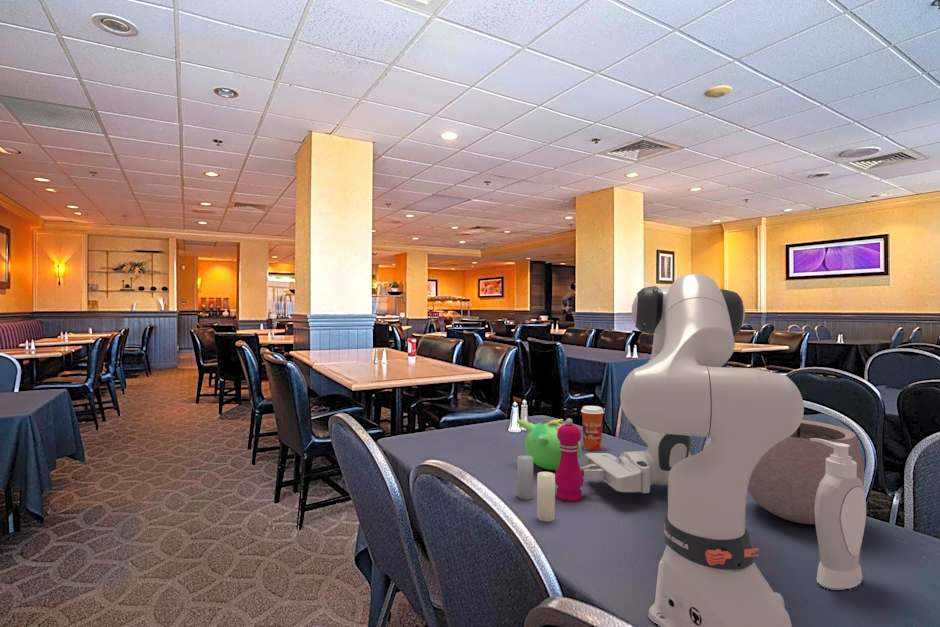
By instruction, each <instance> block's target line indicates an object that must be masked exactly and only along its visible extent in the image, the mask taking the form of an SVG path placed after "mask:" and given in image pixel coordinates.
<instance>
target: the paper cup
mask: <svg viewBox="0 0 940 627" xmlns="http://www.w3.org/2000/svg"><path fill="white" fill-rule="evenodd" d="M580 412H581V422H582V423H581V426H582V441H583V449H584V448H585V449H584V450H586V449H588V450H587V451H589V450H599V449H600V450H601V447H602V437H603V436H602V434H603V423H604V422H603V420H604V419H603V417H604V414H605V411H604V409H603V407H601V406H596V405H584V406H582V408H581V410H580ZM600 450H599V451H600Z"/></svg>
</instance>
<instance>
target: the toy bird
mask: <svg viewBox="0 0 940 627" xmlns="http://www.w3.org/2000/svg"><path fill="white" fill-rule="evenodd" d="M563 421H564V419H563V418H560V419H559V418H557V419H553V420H545V421H541V422H537V423H533V422H529V421H525V420H522V419H517V420H516V423H517V424H518V425H519V426H520V427H522V428H523V429H525V430H526V431H527V432H526V435H525V438H524V448H525V452H526V455H528V456H532V457H533V464H535V465H536V466H538V467H540V468H542V469H545V470H548V471H556V470H557V468H558V466H559V463H560V459H561V450H560V449H559V447H560V445H559V443H561V442H560V441H559V439H558V437H557V431H558V429H559V428H560V427H561V426H562V425H565V424H566V423H565V422H564V423H563ZM578 444H579V450H578V451H577V459H578V460H579V458H580V456H581V455H582V443H581V440H580V441H579V442H578Z"/></svg>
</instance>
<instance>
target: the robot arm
mask: <svg viewBox="0 0 940 627" xmlns="http://www.w3.org/2000/svg"><path fill="white" fill-rule="evenodd" d="M631 315H632V316H631V317H632V319H633V322H634V324H635V325H634V326H635V328H636V329H637V330H638V331H639V332H641V333H644V334H648V335H652V336H653V339H652V340H653V341H652V347H651V348H652V349H651V356H650V357H649V358H648V360H647V361H646V363H645V364H643V365H641V366H638V367H635V368H633V370H631V371H630V372H629V373H628V374H627V376H626V377H625V379H624V380H623V383H622V384H621V388H620V395H619V396H620V405H621V408H622V411H623V414H624V415H625V417H626V418H627V421H629V423H630V427H631V429H632V430H633V432H635V433H636V435H638V437H640V438H641V439H642V440H643V441H644V443H645V444H646V445H647V448H646V450H639V451H638V450H637V451H622V452H621V453H620V455H619V457H617V456H615V455H613V454H611V453H608V452H588V453H585V454H584V460H583V461H584V463H583V464H584V466H579V467H580V469H581V471H582V474H583V478H592V479H597V480H598V479H599V480H602V481H603V482H604V483H605V484H607V485H608V486H610V487H611V488H612V489H613V490H615V491H616V492H619V493H642V494H650V491H651V486H652V485H658V486H667V514H666V515H665V517H664V524H663V532H664V539H663V540H664V541H665V544H666V546H665V549H664V551H663V554H662V557H661V558H660V560H659V563H658V567H657V577H656V578H657V579H656V585H655V586H656V587H655V597H654V603H653V604H652V605H651V606H650V607H649V608H648V619H649V620H650V621H651V622H653V623H654V624H655V623H656V624H658V625H659V626H661V627H793V626H792V622H791V617H790V615H789V613H788V610H786V608H785V605H786V604H785V600H784V598H783V596H782V595H781V594H780V593H779V592H776V591H775V592H774V590H773V589H772V587H771V586H770V584H769V582H768V581H767V580H766V578H765V576H764V575H763V573H761V571H760V569H759V568H758V566H757V565H756V563H755V560H756V559H755V557H759V556H760V554H759V553H756V552H759V551H760V549H759V547H754V548H753V547H752V541H751V538H750V536H749V532H748V529H747V527H746V512H747V511H746V510H747V499H748V485H749V481H750V477H751V475H752V473H753V471H754V469H755V467H756V465H757V464H758V462H759V461H760V459H761V458H762V457H763V456H764V455H765V454H766V453H767V452H768V451H769V450H770V449H771V448H772V447H774V446H775V445H776V444H778V443H779V442H781V441H783V440H785V439H787V438H789V437H790V436H791V435H792V434H793V433H794V432H795V431H796V430H797V429H798V427H799V426H800V424H801V422H802V420H803V418H804V411H805V407H804V406H805V405H804V399H803V396H801V394H800V393H801V392H800V389H799V388H798V386H797V385H796V384H795V382H793V381H792V379H790V378H789V376H787V375H785V374H780V373H777V372H773V371H767V370H762V369H757V368H752V367H751V368H749V367H727V366H726V367H724V365H725V364H726V363H727V362H728V361H729V359H730V358H731V357H732V355H733V354H734V351H735V344H736V342H735V338H734V337H735V336H737V335H738V334H739V333H740V332H741V330H742V327H743V324H744V323H745V320H746V318H745V317H746V311H745V306H744V302H743V299H742V297H741V296H740V295H739V294H738V292H736V291H732V290H728V289H723V288H720V287H719V285H718V284H717V282H716V281H715V280H714V279H713V278H711V277H710V276H708V275H705V274H701V273H688V274H687V273H686V274H684V275H682V276H680V277H678V278H676V279H675V281H673V282H671V285H670V286H661V287H659V286H656V285H653V286H647V287H643V288H641V289H640V290H639V291H637V293H636V296H635V297H634V299H633V302H632V305H631ZM691 437H701V438H707V439H710V441H709V442H708V444H707V446H706V447H705V448H704V449H703V450H702V451H701V450H700V452H698V453H696V454H695V453H694V454H692V455H691V447H692V439H691ZM658 625H657V626H658ZM659 626H658V627H659Z"/></svg>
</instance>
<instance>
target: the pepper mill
mask: <svg viewBox="0 0 940 627" xmlns="http://www.w3.org/2000/svg"><path fill="white" fill-rule="evenodd" d="M564 424H565V425H562V426H561V427H560V428H559V429H558V431H557V437H558V439H559V441H560V442H561V443H559V445H560V447H559V449H560V450H561V459H560V463H559V466H558V468H557V470H555V473H554V474H555V485H556V486H557V488H556V497H557V498H558V499H559V498H560V499H559V500H561V499H562V500H561V501H564V500H567V501H566V502H576V500H578V501H580V500H581V499H582V489H581V488H582V486H583V484H584V476H583V474H582V471H581V469H580V467H581V466H580V464H579V459H577V451H578V450H579V444H578V442H579V441H580V442H581V439H582V433H581V430H580V428H579V427H578V426H576V425H575V424H573V419H572V418H570V417H569V418H566V420H565V423H564ZM579 499H580V500H579Z"/></svg>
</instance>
